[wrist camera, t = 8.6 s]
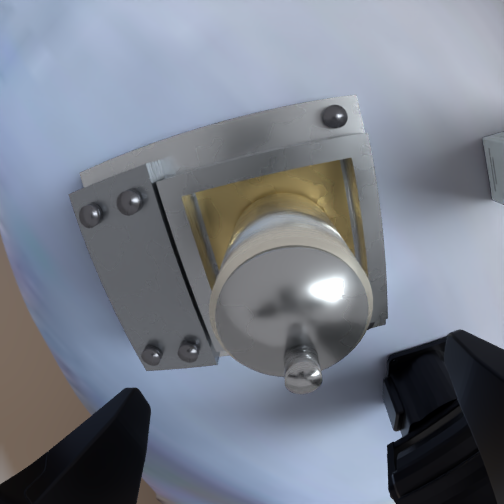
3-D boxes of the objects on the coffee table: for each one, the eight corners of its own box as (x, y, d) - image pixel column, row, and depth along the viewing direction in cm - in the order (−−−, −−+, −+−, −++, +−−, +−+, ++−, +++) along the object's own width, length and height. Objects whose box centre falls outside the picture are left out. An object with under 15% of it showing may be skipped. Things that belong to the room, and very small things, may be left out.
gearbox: (346, 98, 15) (372, 87, 11) (377, 308, 20) (398, 348, 16) (95, 168, 17) (53, 180, 13) (165, 346, 22) (147, 387, 18)
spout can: (324, 183, 15) (382, 236, 7) (340, 278, 17) (385, 386, 9) (220, 206, 16) (172, 280, 8) (246, 297, 18) (230, 413, 10)
